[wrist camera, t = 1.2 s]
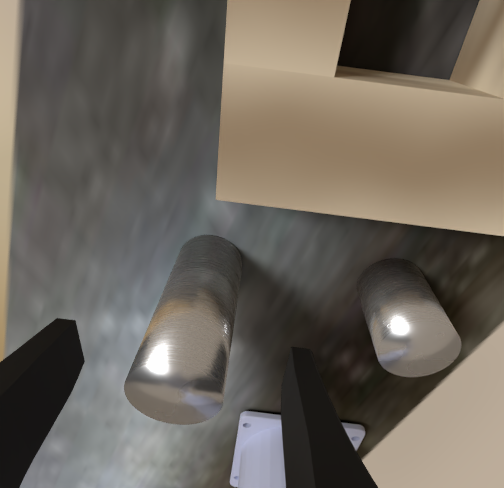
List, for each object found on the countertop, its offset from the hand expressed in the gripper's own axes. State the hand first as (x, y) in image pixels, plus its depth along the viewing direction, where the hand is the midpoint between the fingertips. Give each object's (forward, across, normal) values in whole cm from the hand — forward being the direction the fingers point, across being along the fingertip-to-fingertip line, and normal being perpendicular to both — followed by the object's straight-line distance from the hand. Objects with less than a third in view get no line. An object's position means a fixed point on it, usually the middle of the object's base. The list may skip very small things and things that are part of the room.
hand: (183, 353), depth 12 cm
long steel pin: (+6, 0, 0) cm, 6 cm away
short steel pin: (+6, -8, 0) cm, 10 cm away
